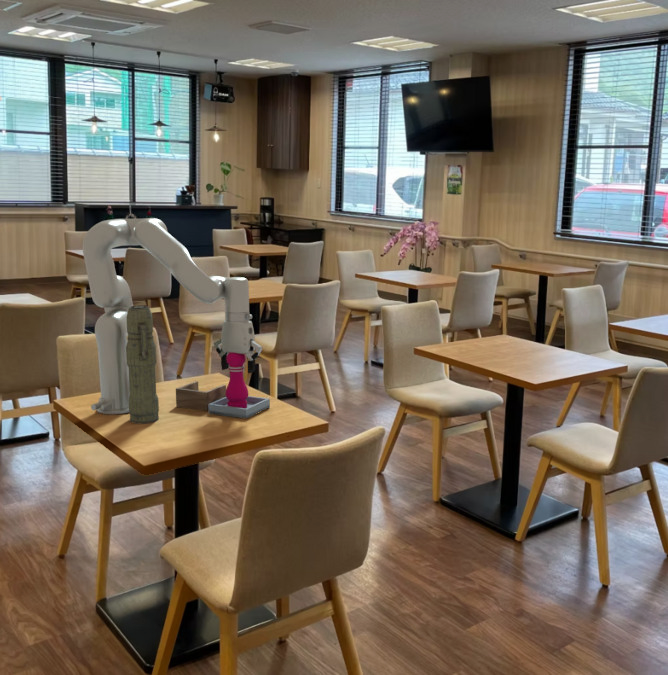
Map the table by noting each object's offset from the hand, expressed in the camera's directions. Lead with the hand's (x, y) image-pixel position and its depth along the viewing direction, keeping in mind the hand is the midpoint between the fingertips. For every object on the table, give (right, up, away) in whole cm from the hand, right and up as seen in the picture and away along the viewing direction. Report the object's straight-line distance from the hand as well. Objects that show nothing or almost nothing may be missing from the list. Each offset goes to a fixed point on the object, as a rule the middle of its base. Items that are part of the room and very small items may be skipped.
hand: (238, 370), depth 254 cm
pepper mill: (-1, -12, +3) cm, 12 cm away
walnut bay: (-13, -11, +10) cm, 20 cm away
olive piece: (-28, -15, -7) cm, 32 cm away
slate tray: (0, -13, +2) cm, 13 cm away
